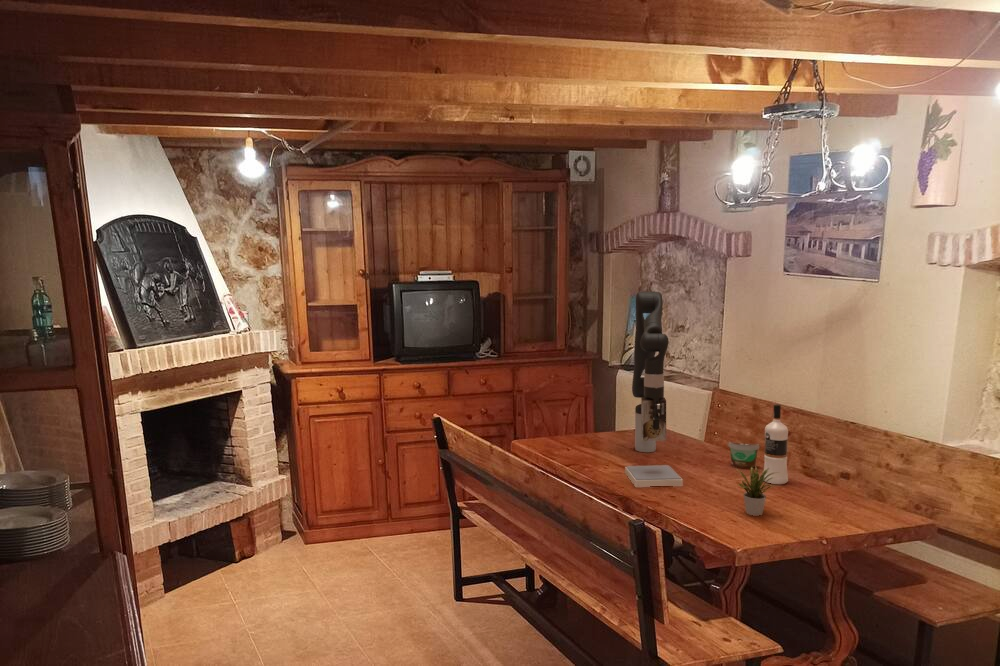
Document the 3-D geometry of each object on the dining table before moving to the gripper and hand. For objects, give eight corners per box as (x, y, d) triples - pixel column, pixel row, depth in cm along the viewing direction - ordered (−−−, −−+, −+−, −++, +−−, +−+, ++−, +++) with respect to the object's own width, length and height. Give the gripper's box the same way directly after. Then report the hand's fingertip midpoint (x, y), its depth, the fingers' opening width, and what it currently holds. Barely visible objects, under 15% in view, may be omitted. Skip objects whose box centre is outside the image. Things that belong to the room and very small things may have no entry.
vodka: (792, 484, 264) (794, 406, 261) (768, 485, 264) (770, 407, 261) (781, 477, 274) (783, 402, 271) (758, 477, 273) (760, 402, 270)
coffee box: (664, 437, 274) (664, 396, 272) (666, 441, 268) (667, 399, 266) (640, 436, 275) (641, 396, 273) (642, 441, 269) (642, 399, 267)
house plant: (789, 519, 229) (791, 470, 228) (753, 524, 225) (755, 474, 224) (761, 505, 243) (763, 459, 241) (727, 509, 239) (728, 462, 237)
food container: (726, 468, 287) (727, 444, 286) (727, 464, 293) (728, 440, 292) (758, 471, 282) (759, 446, 281) (759, 466, 288) (759, 443, 287)
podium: (625, 473, 281) (625, 465, 281) (669, 472, 282) (669, 464, 282) (635, 487, 263) (635, 479, 263) (682, 486, 264) (682, 478, 264)
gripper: (639, 381, 276) (639, 423, 278) (649, 388, 262) (648, 431, 264) (658, 381, 276) (658, 422, 278) (668, 388, 262) (668, 431, 264)
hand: (653, 426), depth 271 cm, fingers closed on coffee box, 7 cm apart
